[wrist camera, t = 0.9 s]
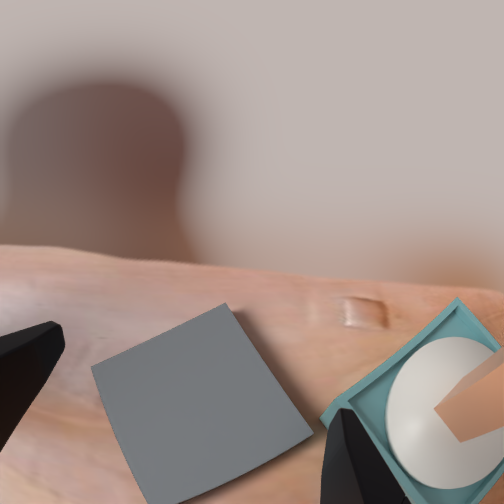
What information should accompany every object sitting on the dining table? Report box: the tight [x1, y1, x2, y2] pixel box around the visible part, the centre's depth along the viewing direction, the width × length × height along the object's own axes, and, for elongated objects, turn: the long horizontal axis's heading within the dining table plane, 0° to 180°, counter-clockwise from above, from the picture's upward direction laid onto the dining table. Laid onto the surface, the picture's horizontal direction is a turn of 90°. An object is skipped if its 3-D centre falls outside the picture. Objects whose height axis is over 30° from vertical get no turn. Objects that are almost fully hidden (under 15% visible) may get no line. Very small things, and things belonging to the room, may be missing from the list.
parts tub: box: [319, 297, 504, 504], centre depth 16 cm, size 12×12×6 cm
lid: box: [384, 337, 504, 489], centre depth 12 cm, size 10×10×8 cm
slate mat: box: [91, 303, 314, 504], centre depth 20 cm, size 12×12×2 cm
